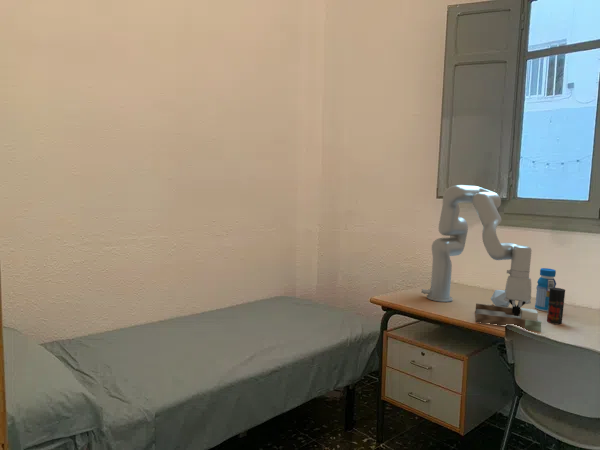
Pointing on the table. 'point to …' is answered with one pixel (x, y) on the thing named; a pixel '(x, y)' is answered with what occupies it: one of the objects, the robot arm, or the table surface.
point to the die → (499, 298)
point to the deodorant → (556, 305)
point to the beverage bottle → (544, 288)
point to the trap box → (503, 317)
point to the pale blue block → (529, 314)
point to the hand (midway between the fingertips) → (515, 315)
